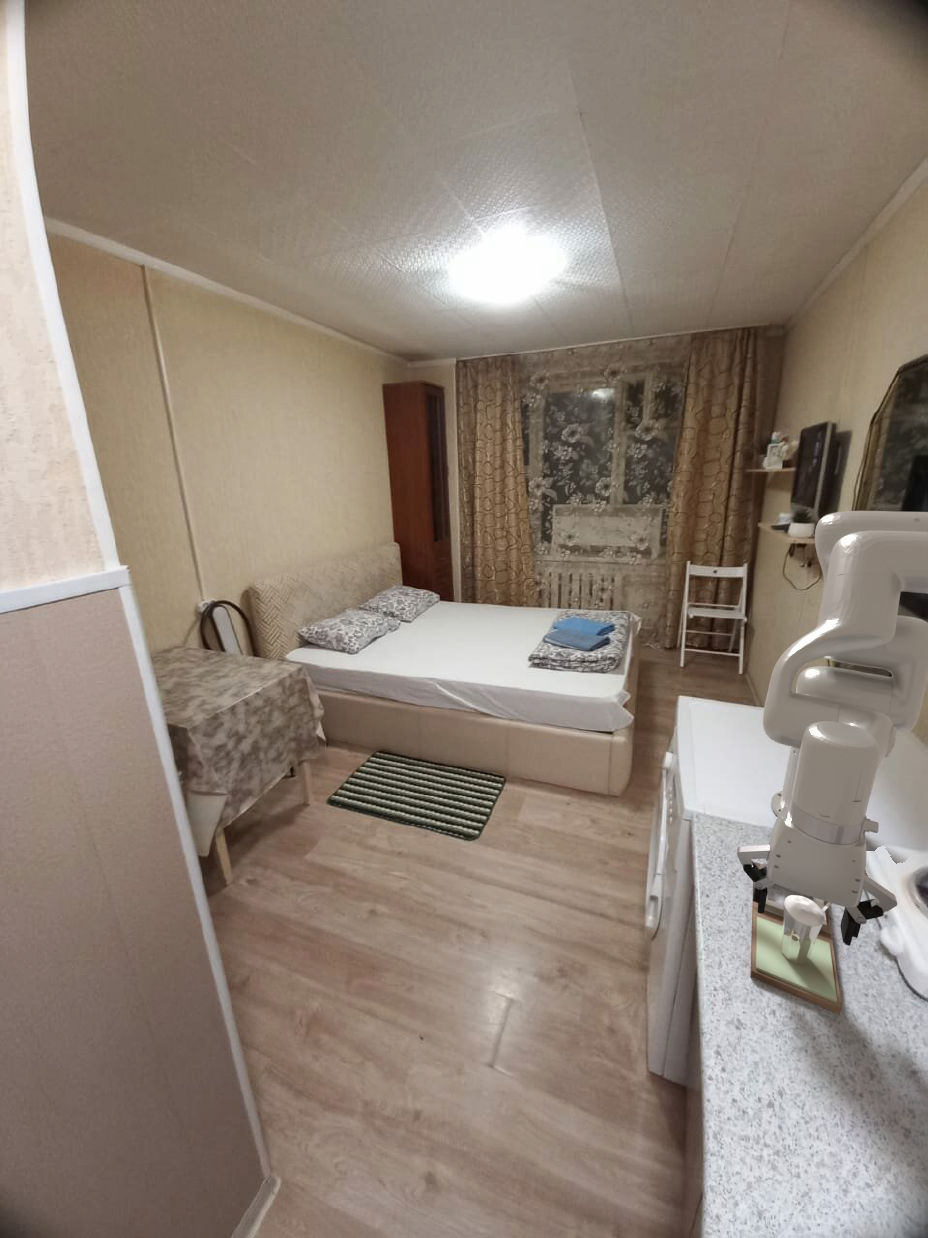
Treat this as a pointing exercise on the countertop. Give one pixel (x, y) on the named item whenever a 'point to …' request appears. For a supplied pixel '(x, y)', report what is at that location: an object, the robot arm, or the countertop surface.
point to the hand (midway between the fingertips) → (801, 920)
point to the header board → (776, 970)
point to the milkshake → (800, 927)
